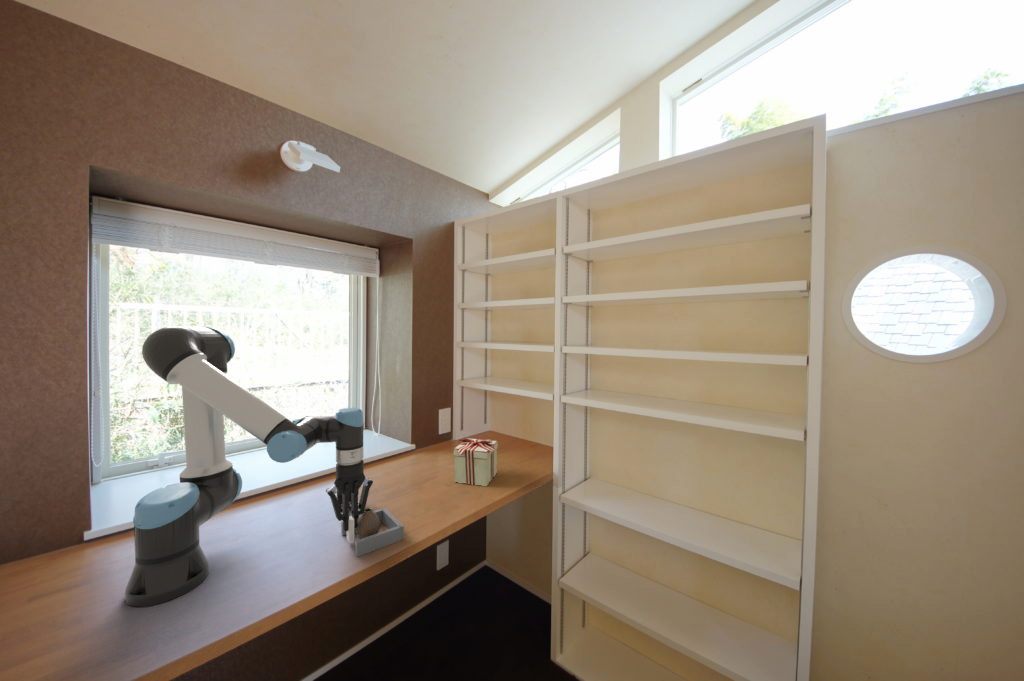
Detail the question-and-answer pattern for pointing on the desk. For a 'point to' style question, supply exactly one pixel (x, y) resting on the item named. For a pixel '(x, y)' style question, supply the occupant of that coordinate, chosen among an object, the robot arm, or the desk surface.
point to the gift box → (475, 461)
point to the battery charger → (339, 498)
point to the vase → (367, 524)
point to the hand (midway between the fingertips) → (350, 539)
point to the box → (379, 534)
